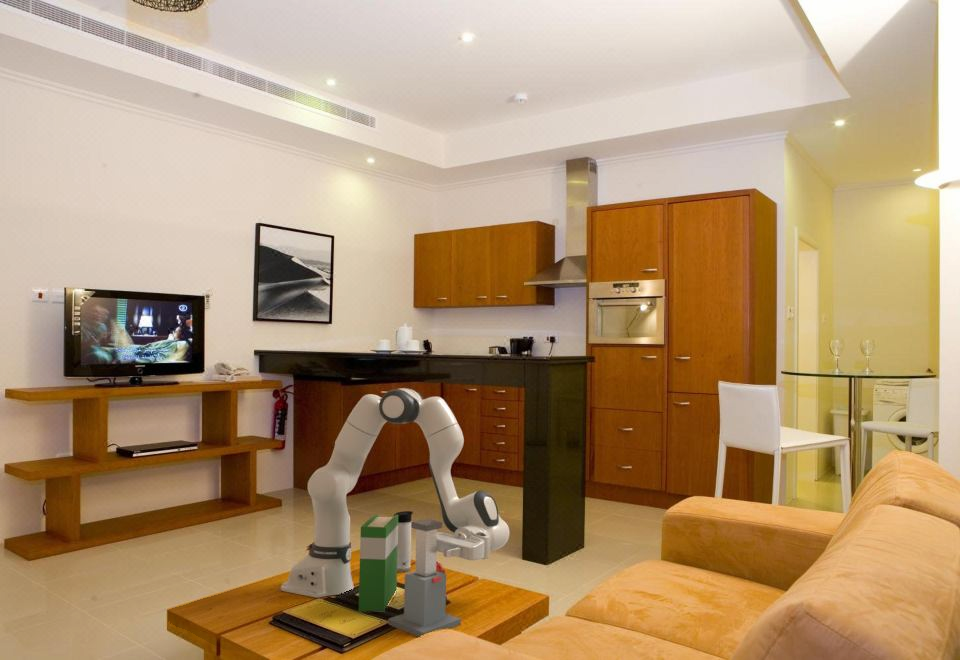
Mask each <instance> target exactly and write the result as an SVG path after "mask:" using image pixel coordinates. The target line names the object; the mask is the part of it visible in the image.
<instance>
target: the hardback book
mask: <svg viewBox="0 0 960 660" xmlns="http://www.w3.org/2000/svg"><path fill="white" fill-rule="evenodd" d="M359 544H360V545H359V546H360V547H359V548H360V549H359V574H358V575H359V576H358V577H359V578H358V579H359V582H358V584H359V585H358V611H357V612H358V613H363V612H362V611H384V610H385V608H386V606H387V605H388V603H389V601H390V600H391V598H392V596H393V595H394V593H395V591H396V590H397V588H398V587H397V583H398V582H397V581H398V579H397V577H398V572H397V550H398V515H395V516H394V515H393V517H391V516H379V513H374V514H373V515H372V516H371V517H370V518H369V519H368V520H366V521H365V522H364V523H363V524H362V525H361V526H360V541H359ZM396 592H397V591H396ZM359 611H360V612H359Z"/></svg>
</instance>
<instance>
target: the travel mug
mask: <svg viewBox="0 0 960 660" xmlns="http://www.w3.org/2000/svg"><path fill="white" fill-rule="evenodd" d="M413 514H414V512H413V511H412V510H411V511H409V510H405V511H399V512H396V513H394V514H393V517H394V516H395V515H398V550H397V573H408V572H410V570H411V564H412V563H411V562H412V561H411V558H412V555H411V554H412V528H411V522H413V521H412V515H413Z"/></svg>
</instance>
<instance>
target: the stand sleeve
mask: <svg viewBox="0 0 960 660" xmlns="http://www.w3.org/2000/svg"><path fill="white" fill-rule="evenodd" d="M403 593H404V594H403V595H404V601H403V613H402V614H398V615H396V616H395V615H394V616H393V617H390V618H388V619H387V621H388V622H387V625H389V626H391V627H393V628H396V629H399V630H401V631H404V632H407V634H408V633H409V634H411V635H414V636H416V637H418V638H420V637H419V636H421V635H424V634H426V633H429V632H432V631H435V630H439V629H446V628H450V629H452V628H454V627H457V626H461V624H462V623H461V622H462V619H461V618H460V617H457V616H454V615H452V614H449V613H446V611H447V610H446V608H447V607H446V606H447V605H446V604H447V601H446V600H447V573H445V574H444V573H441V572H438V571H436V575H433V576H430V577H426V578H424V577H421V576H418V575H415V571H412V572H411V571H409V572H406V573H405V574H404V592H403Z"/></svg>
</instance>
